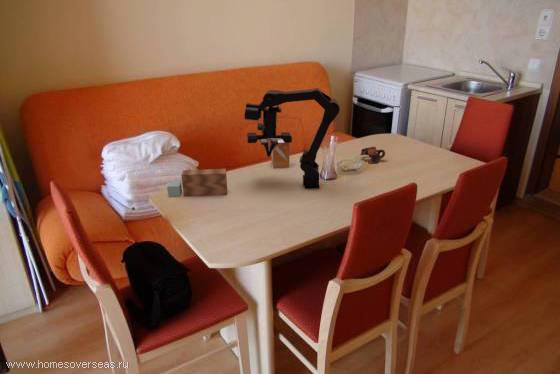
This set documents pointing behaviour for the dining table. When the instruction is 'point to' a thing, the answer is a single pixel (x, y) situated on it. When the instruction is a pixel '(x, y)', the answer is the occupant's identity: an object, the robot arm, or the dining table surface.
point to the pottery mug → (373, 154)
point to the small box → (280, 155)
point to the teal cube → (174, 189)
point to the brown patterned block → (204, 182)
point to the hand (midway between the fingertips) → (268, 156)
